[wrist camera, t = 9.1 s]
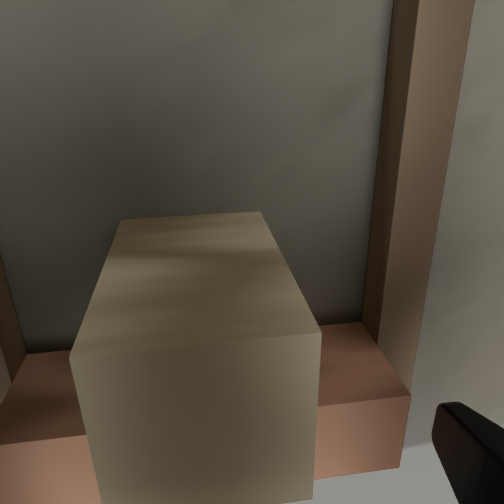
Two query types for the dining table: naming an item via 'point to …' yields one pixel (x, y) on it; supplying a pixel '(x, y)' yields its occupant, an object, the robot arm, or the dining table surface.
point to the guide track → (333, 336)
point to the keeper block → (198, 366)
